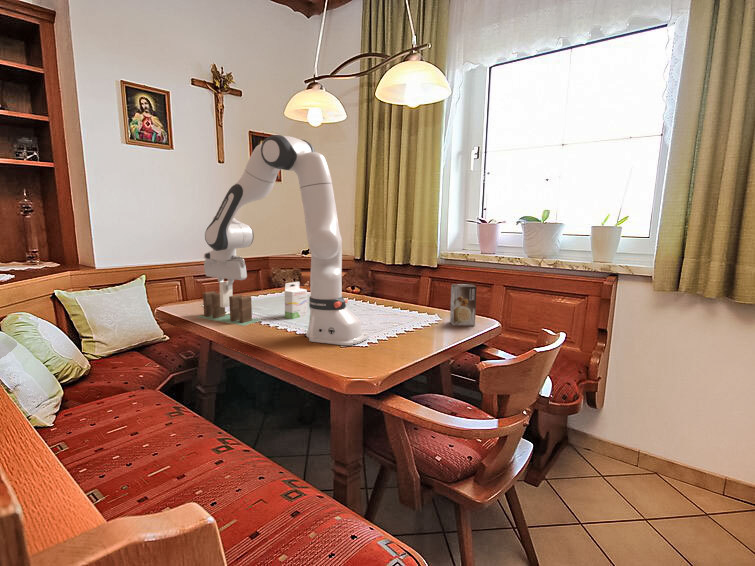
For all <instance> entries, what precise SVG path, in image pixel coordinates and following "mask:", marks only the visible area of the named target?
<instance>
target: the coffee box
mask: <svg viewBox="0 0 755 566" xmlns="http://www.w3.org/2000/svg"><path fill="white" fill-rule="evenodd" d="M477 287H478V286H476V285H475V284H470V283H469V284H468V283H467V284H465V283H452V284H451V286H450V315H449V322H450V323H451V325H452V326H476V310H477Z"/></svg>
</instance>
